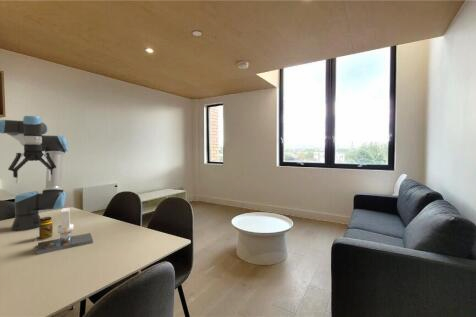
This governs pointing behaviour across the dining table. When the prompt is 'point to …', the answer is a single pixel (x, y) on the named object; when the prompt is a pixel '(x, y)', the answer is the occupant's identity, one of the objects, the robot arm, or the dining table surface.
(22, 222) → the robot arm
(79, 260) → the dining table surface
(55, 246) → the base plate
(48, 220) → the condiment
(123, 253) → the dining table surface
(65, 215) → the lever handle
